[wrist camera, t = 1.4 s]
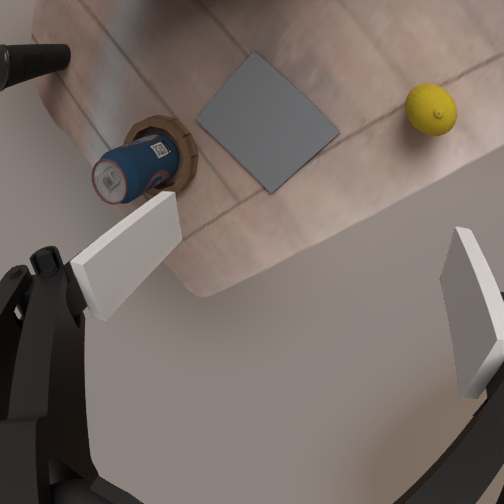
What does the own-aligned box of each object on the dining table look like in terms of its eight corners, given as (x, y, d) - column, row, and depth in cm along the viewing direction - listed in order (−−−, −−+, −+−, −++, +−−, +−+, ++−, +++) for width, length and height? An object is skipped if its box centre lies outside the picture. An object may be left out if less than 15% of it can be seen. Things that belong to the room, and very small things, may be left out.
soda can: (161, 185, 47) (109, 218, 37) (136, 148, 45) (80, 174, 35) (191, 161, 43) (139, 192, 34) (164, 122, 41) (107, 143, 32)
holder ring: (121, 156, 47) (113, 160, 45) (156, 100, 40) (147, 102, 38) (170, 206, 48) (163, 211, 47) (213, 154, 42) (206, 158, 40)
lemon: (406, 76, 29) (417, 76, 22) (450, 92, 28) (471, 97, 21) (396, 121, 32) (405, 131, 25) (440, 136, 31) (457, 150, 24)
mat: (197, 119, 40) (195, 119, 39) (255, 51, 33) (253, 51, 32) (272, 192, 42) (271, 193, 41) (340, 131, 35) (339, 132, 34)
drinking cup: (63, 28, 37) (-36, 42, 21) (81, 52, 39) (-24, 71, 23) (45, 61, 41) (-47, 83, 25) (62, 85, 43) (-35, 113, 27)
